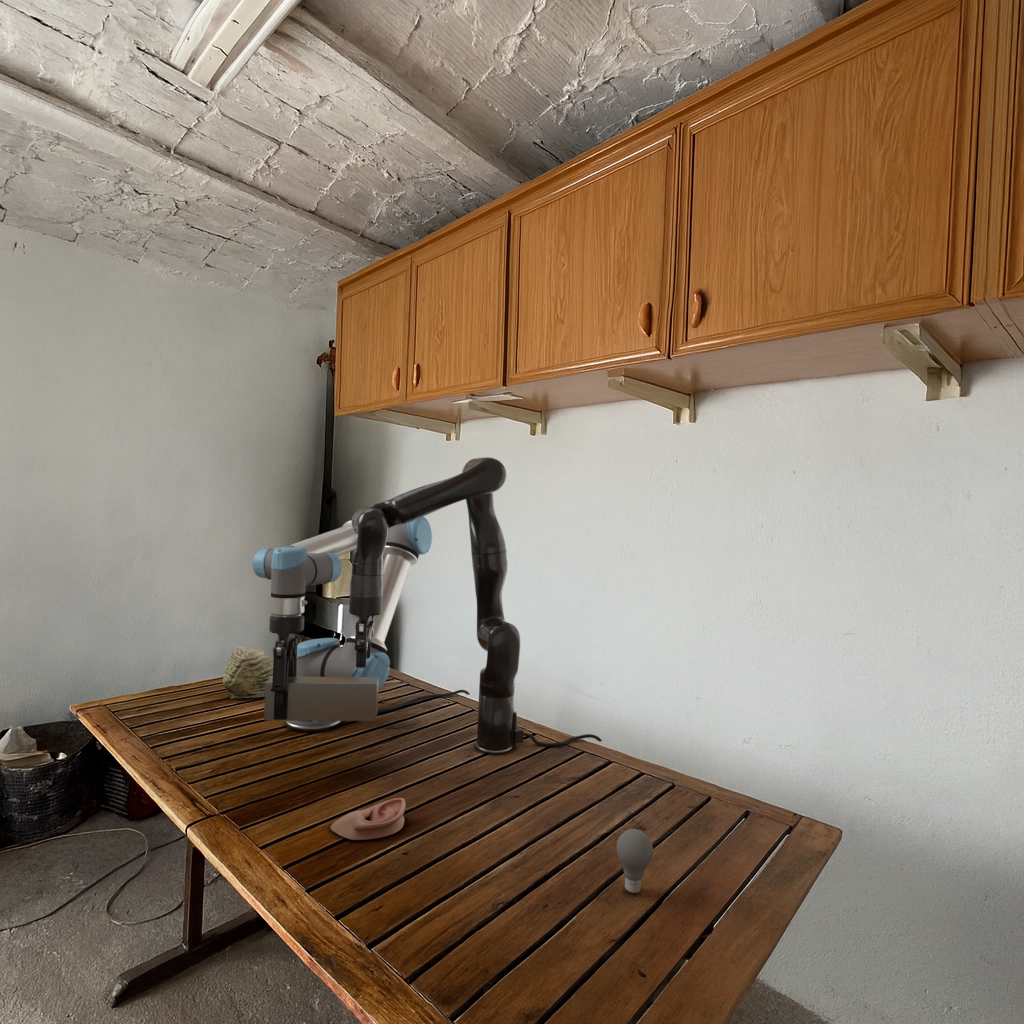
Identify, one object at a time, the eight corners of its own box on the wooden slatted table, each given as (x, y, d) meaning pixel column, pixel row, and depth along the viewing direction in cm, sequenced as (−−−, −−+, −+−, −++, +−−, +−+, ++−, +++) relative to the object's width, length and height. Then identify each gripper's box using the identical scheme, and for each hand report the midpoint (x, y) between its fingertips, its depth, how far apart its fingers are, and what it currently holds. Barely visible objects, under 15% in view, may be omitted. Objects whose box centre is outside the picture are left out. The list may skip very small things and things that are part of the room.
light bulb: (610, 879, 108) (613, 822, 108) (644, 879, 109) (647, 822, 109) (619, 902, 102) (622, 840, 102) (655, 901, 103) (658, 840, 103)
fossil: (218, 695, 195) (220, 647, 195) (278, 685, 208) (279, 640, 207) (228, 703, 189) (230, 653, 188) (289, 692, 201) (290, 645, 201)
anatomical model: (323, 814, 118) (350, 787, 130) (322, 835, 118) (350, 806, 130) (389, 824, 116) (412, 796, 127) (389, 846, 116) (411, 816, 127)
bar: (263, 720, 143) (265, 682, 143) (270, 712, 148) (271, 676, 148) (375, 721, 146) (376, 684, 146) (377, 713, 151) (379, 677, 151)
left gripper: (294, 622, 137) (290, 729, 137) (312, 607, 155) (308, 701, 156) (258, 622, 136) (255, 729, 137) (280, 607, 154) (277, 701, 155)
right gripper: (379, 598, 141) (376, 671, 141) (385, 589, 155) (382, 655, 155) (345, 597, 140) (342, 670, 140) (354, 588, 154) (351, 654, 154)
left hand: (283, 714), depth 146 cm, fingers closed on bar, 5 cm apart
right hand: (363, 662), depth 148 cm, fingers open, 8 cm apart
